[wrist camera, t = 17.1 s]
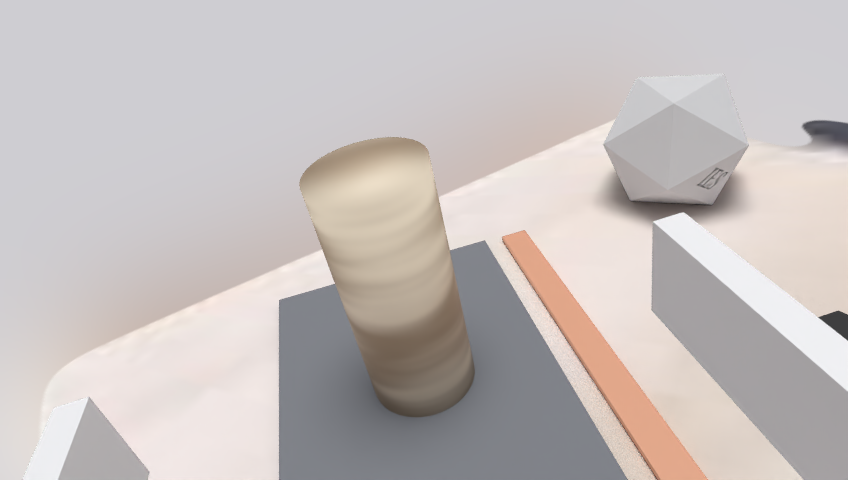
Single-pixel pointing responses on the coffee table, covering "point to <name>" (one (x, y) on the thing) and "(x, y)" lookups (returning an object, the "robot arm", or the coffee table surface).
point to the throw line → (605, 367)
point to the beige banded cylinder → (393, 270)
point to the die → (677, 139)
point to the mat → (446, 431)
